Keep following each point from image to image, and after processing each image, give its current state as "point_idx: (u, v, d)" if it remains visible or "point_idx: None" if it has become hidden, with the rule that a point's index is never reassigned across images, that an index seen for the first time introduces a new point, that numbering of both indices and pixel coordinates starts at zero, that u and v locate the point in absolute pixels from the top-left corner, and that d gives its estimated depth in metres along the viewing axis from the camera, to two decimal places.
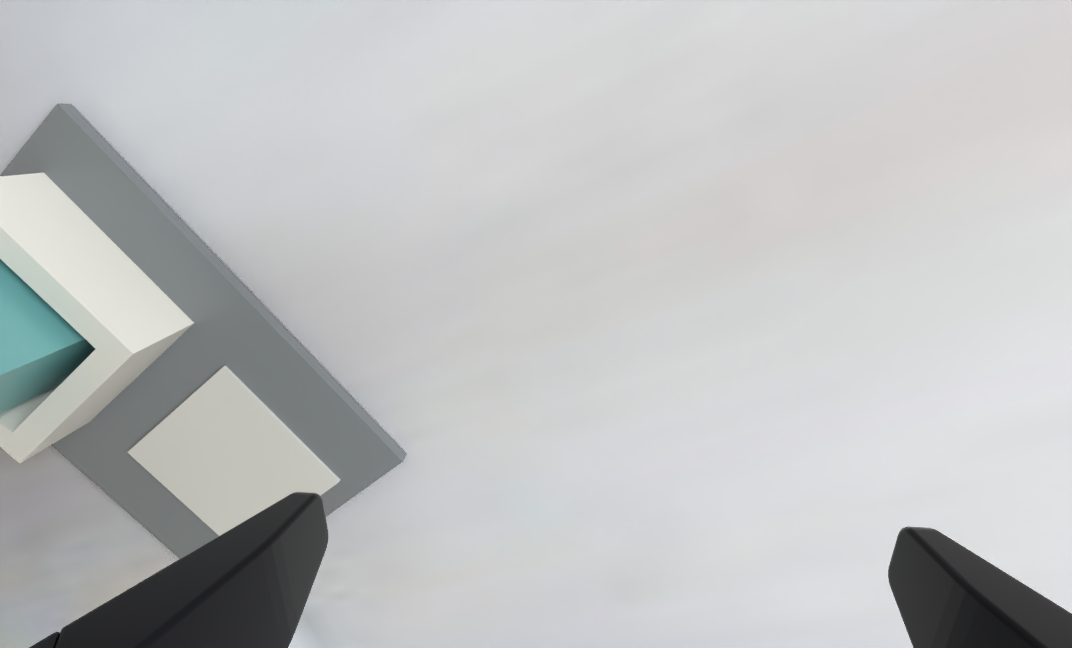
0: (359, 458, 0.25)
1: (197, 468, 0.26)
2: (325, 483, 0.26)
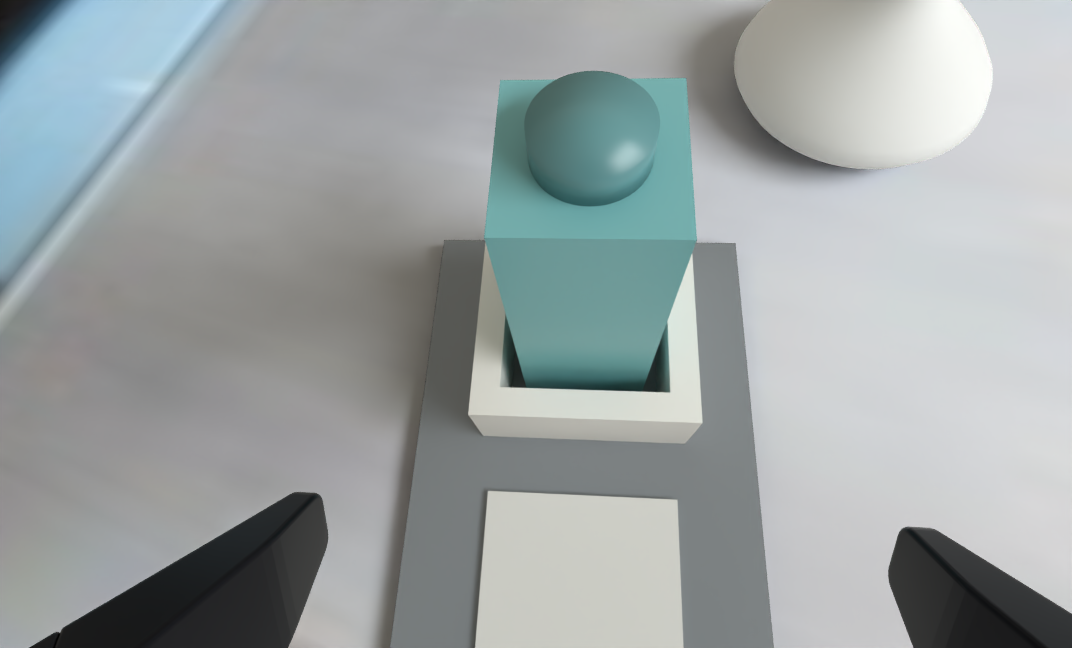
0: None
1: (540, 568, 0.20)
2: None
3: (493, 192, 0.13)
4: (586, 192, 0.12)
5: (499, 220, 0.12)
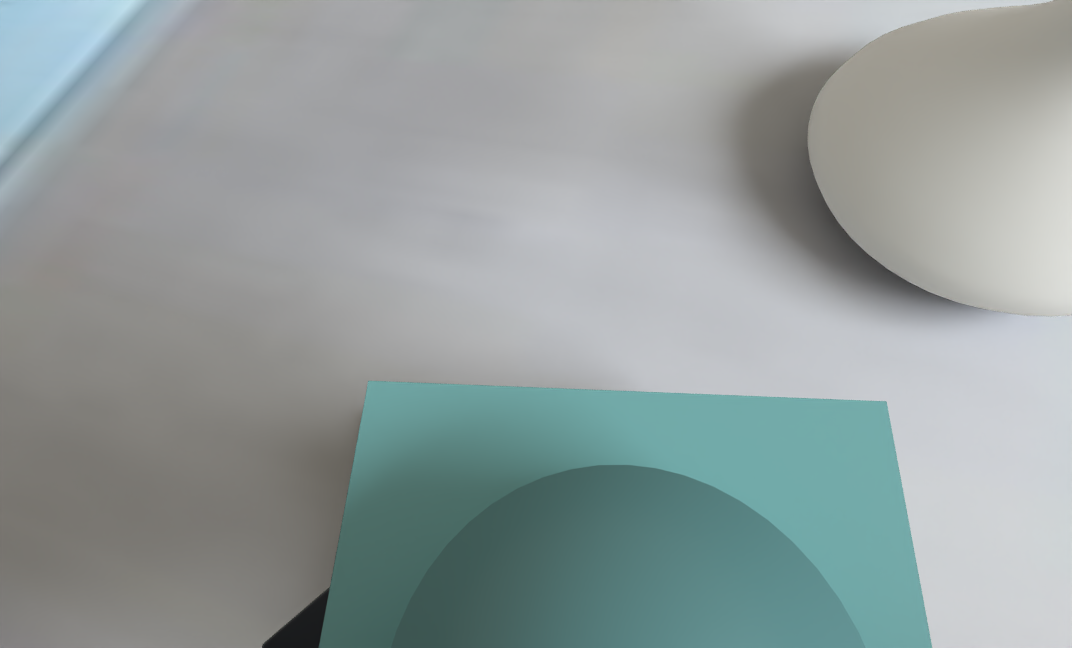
0: None
1: None
2: None
3: None
4: None
5: None
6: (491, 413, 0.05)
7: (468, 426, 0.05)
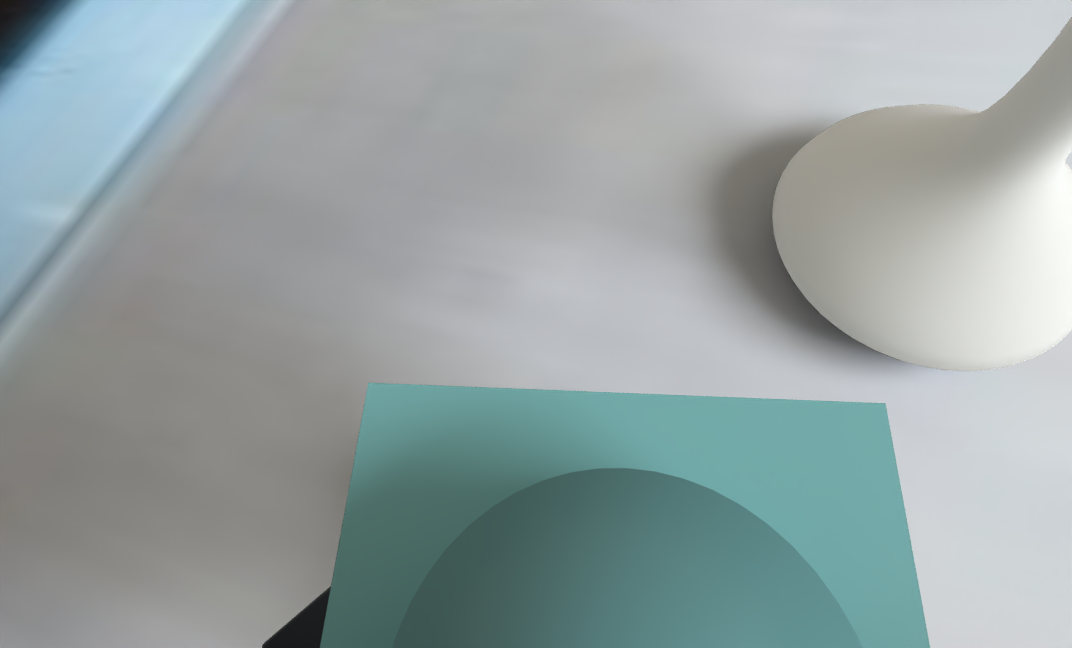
0: None
1: None
2: None
3: None
4: None
5: None
6: (490, 415, 0.05)
7: (468, 428, 0.05)
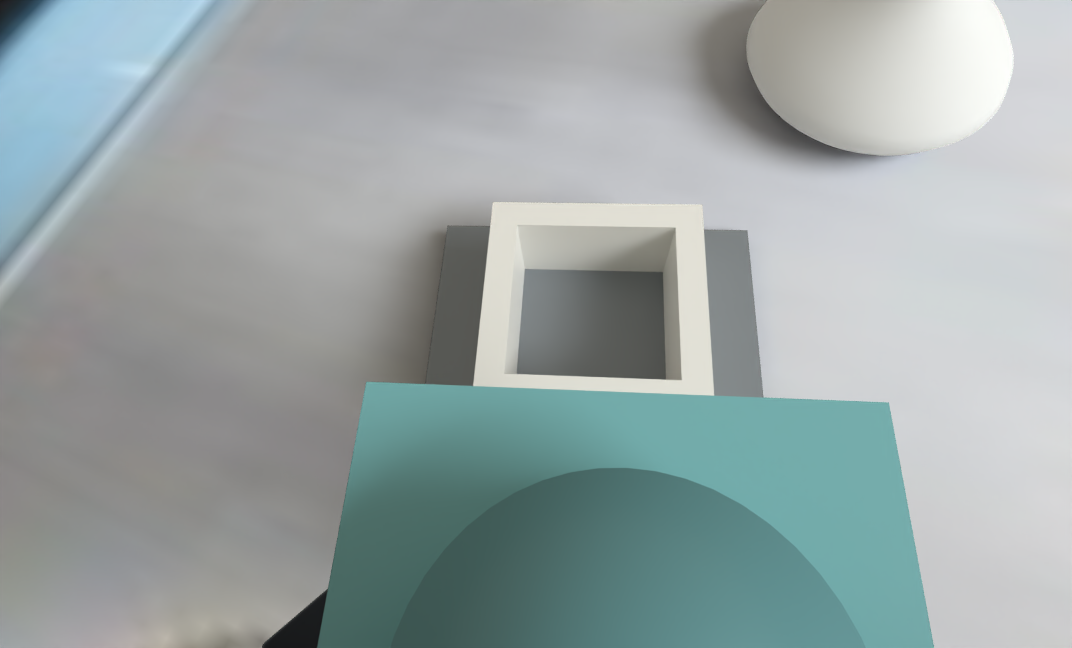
0: None
1: None
2: None
3: None
4: None
5: None
6: (490, 414, 0.05)
7: (467, 427, 0.05)
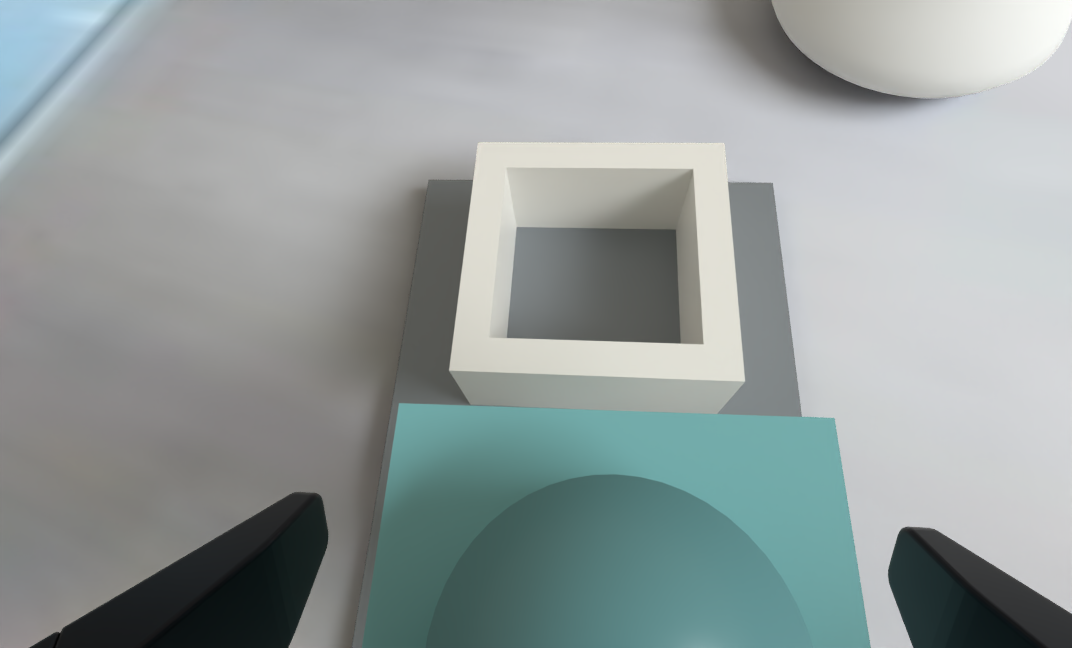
0: None
1: None
2: None
3: None
4: None
5: None
6: (504, 430, 0.06)
7: (484, 441, 0.06)
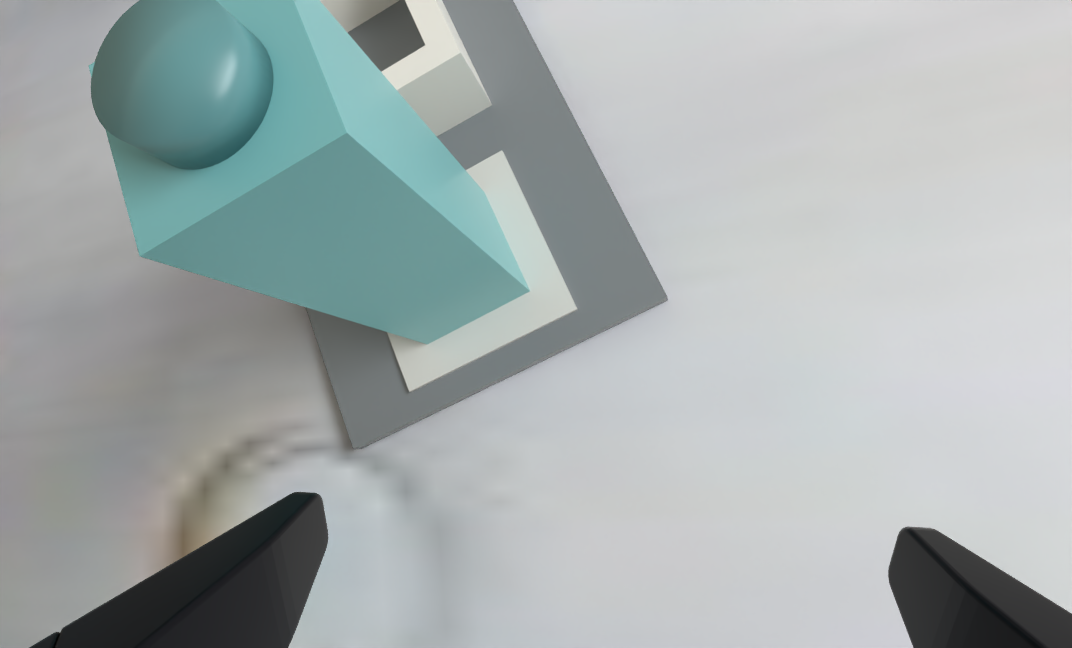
0: (612, 284, 0.20)
1: None
2: (559, 307, 0.21)
3: (130, 199, 0.10)
4: (202, 147, 0.10)
5: (147, 228, 0.10)
6: None
7: None
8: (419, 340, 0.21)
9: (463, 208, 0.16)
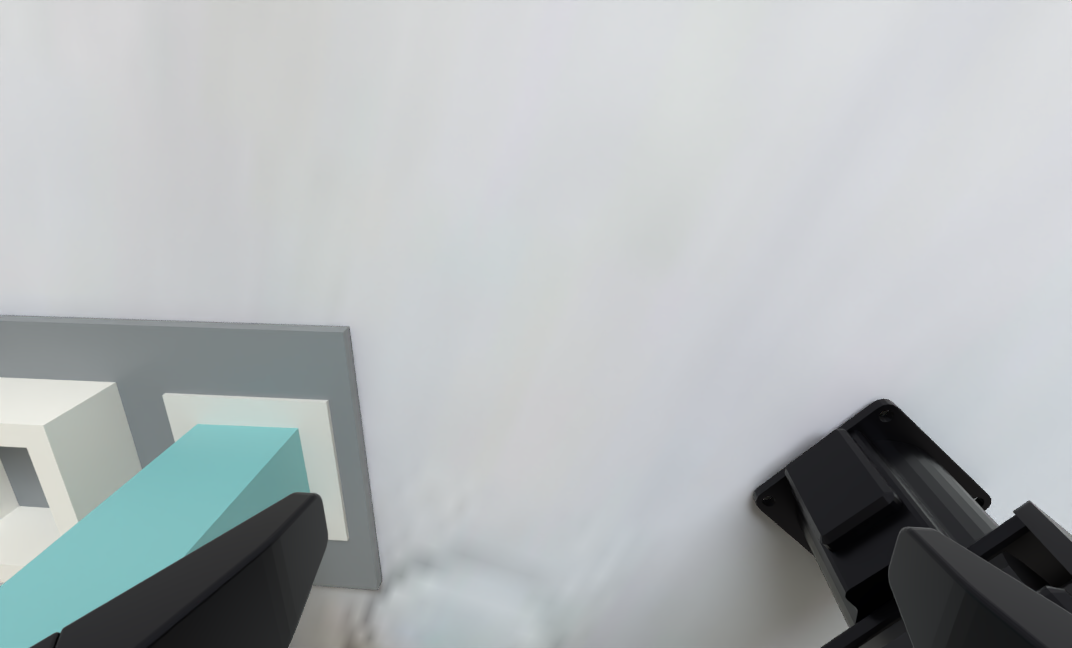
0: (316, 366, 0.23)
1: None
2: (320, 414, 0.23)
3: None
4: None
5: None
6: None
7: None
8: None
9: (181, 512, 0.19)
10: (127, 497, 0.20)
